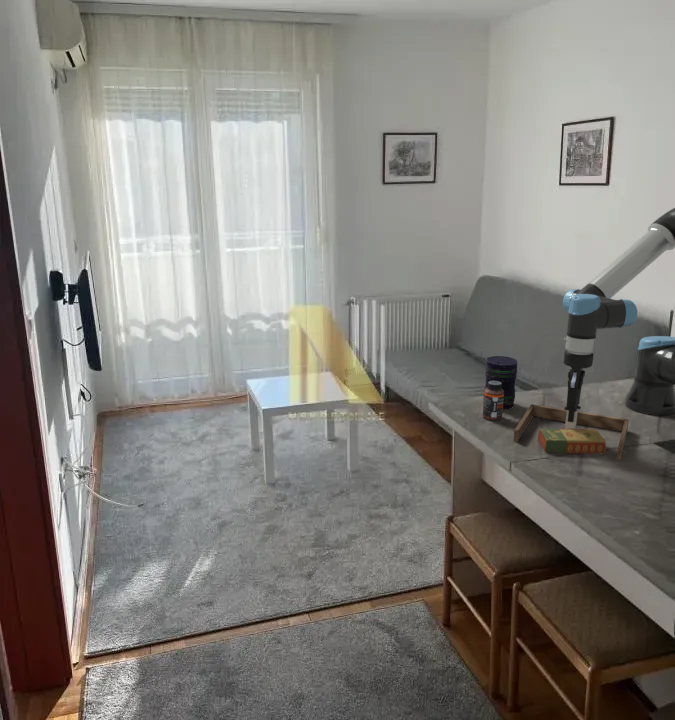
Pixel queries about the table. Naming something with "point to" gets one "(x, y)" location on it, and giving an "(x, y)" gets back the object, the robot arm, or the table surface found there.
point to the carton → (571, 440)
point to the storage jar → (503, 376)
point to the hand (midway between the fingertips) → (569, 431)
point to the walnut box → (581, 419)
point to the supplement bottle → (493, 401)
